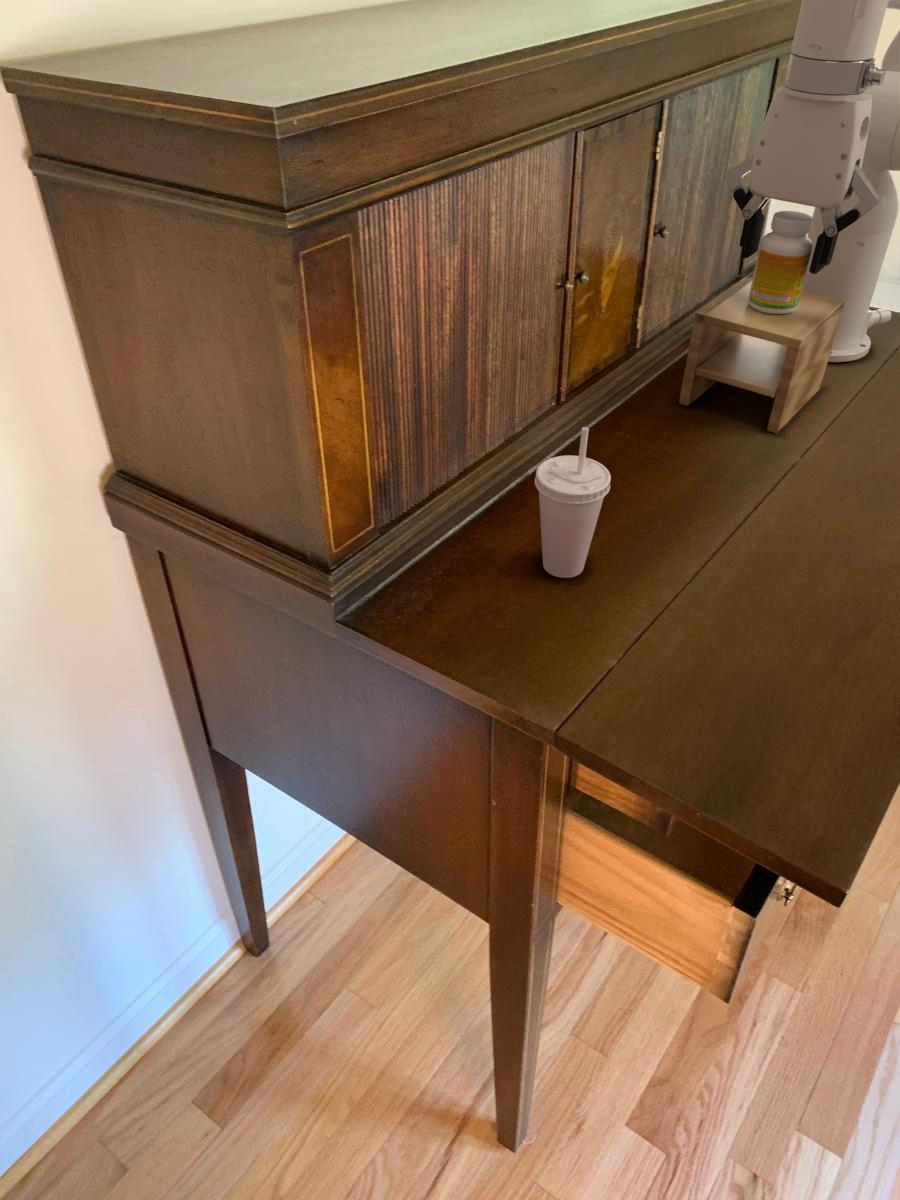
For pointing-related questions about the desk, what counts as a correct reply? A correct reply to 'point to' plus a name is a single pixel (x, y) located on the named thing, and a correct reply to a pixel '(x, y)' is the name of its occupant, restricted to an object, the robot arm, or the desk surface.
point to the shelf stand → (762, 349)
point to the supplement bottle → (781, 264)
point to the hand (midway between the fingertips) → (782, 261)
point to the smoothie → (569, 508)
